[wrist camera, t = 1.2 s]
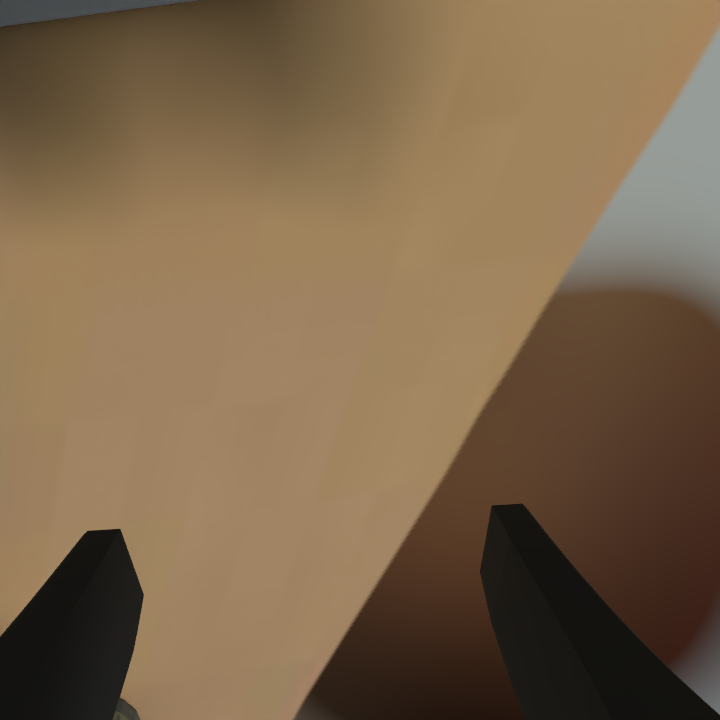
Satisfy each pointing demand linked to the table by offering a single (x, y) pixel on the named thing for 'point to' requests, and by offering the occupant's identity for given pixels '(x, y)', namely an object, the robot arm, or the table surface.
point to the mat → (67, 8)
